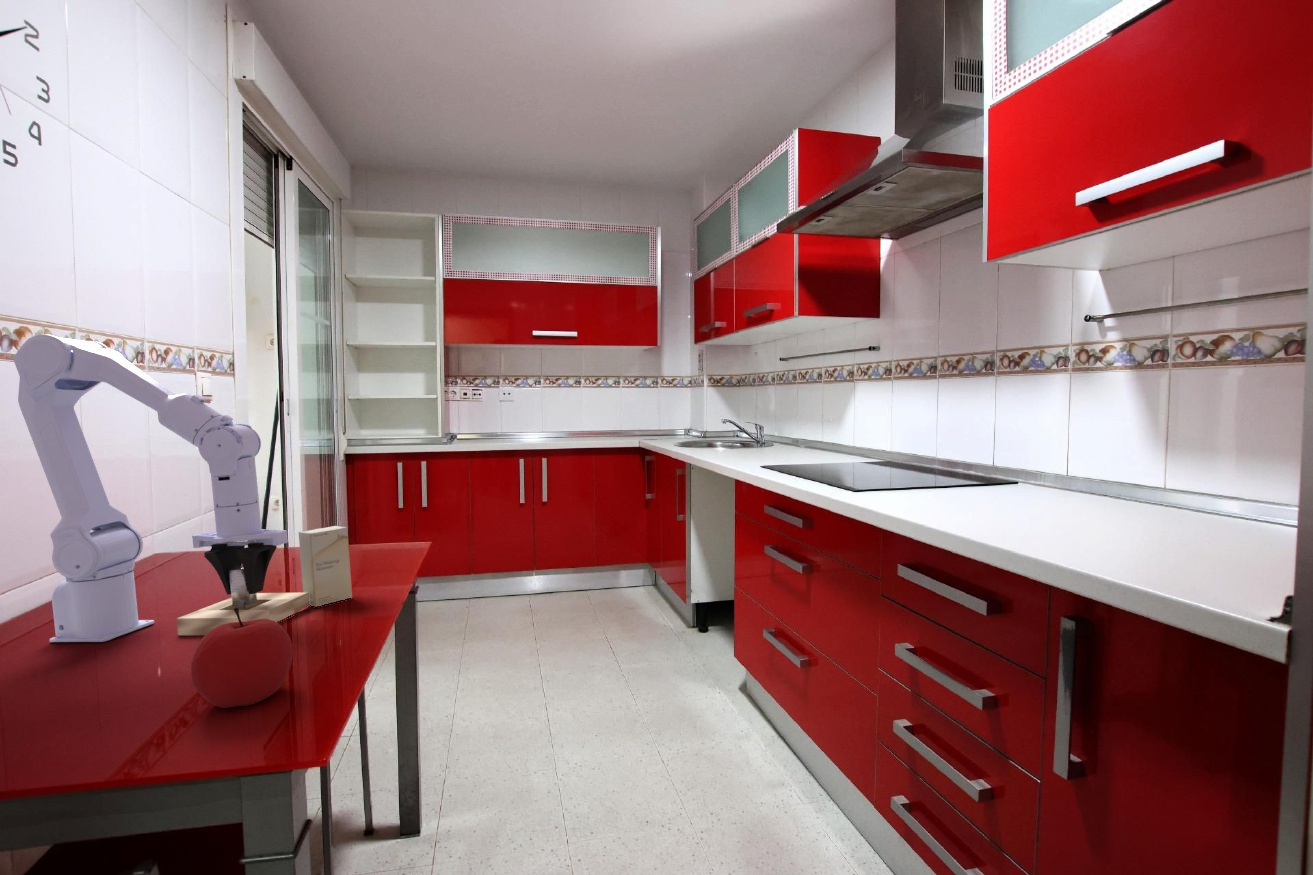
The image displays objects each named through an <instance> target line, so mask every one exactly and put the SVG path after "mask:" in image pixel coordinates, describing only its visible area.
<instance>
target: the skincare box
mask: <svg viewBox="0 0 1313 875" xmlns="http://www.w3.org/2000/svg"><path fill="white" fill-rule="evenodd" d="M298 544H299V553H300V554H299V557H300V559H299V560H300V568H301V581H302V582H301V584H302V593H303V592H309V603H310V605H311V606H321V605H324V604H328V603H331V602H336V601H339V600H345V599H347V598H351V599H352V598H353V588H352V587H353V586H352V575H351V574H352V573H351V563H350V550H349V548H350V547H349V535H348V527H347V526H339V525H332V526H327V527H320V528H315V529H310V530H305V531H298ZM345 601H346V600H345ZM311 606H310V607H311ZM321 607H322V606H321Z"/></svg>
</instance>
